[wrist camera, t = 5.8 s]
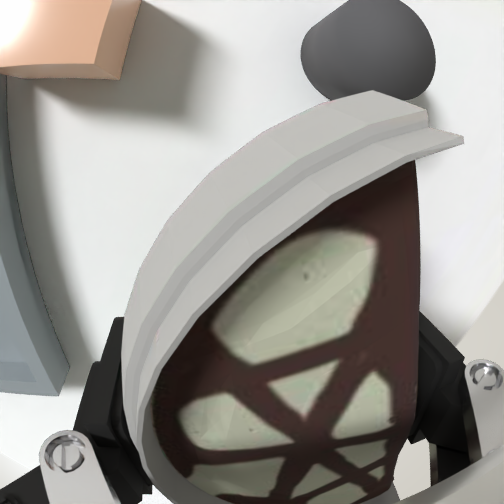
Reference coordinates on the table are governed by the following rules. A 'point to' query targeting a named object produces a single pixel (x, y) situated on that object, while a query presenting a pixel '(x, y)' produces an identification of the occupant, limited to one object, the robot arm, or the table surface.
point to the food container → (286, 315)
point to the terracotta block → (65, 37)
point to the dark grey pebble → (369, 51)
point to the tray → (22, 297)
